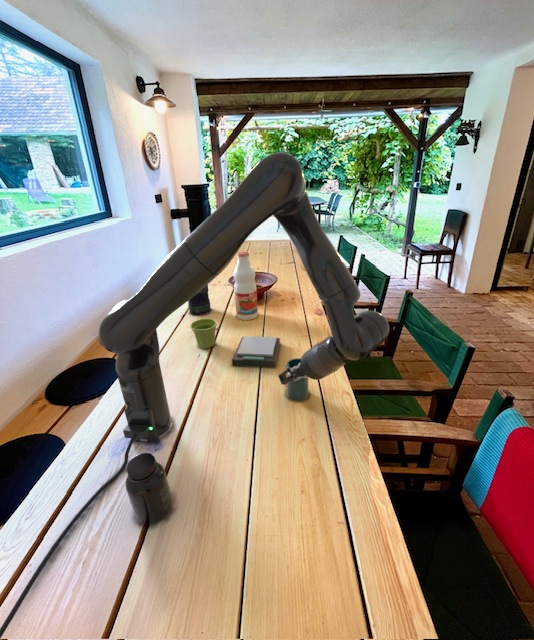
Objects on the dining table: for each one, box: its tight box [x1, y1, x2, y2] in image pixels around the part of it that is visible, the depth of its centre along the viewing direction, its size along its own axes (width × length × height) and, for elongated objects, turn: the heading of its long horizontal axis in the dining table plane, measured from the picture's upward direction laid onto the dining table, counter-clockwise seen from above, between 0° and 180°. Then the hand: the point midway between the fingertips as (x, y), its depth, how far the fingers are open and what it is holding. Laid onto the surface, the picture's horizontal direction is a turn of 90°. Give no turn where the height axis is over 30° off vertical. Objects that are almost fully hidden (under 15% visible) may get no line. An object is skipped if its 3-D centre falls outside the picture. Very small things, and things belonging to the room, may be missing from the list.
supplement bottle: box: [125, 452, 173, 526], centre depth 58 cm, size 7×7×12 cm
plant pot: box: [190, 318, 218, 350], centre depth 117 cm, size 9×9×9 cm
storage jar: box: [187, 284, 212, 317], centre depth 146 cm, size 10×10×15 cm
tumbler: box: [285, 357, 310, 402], centre depth 88 cm, size 6×6×10 cm
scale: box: [231, 336, 281, 369], centre depth 111 cm, size 16×14×3 cm
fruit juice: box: [232, 251, 259, 321], centre depth 136 cm, size 9×9×28 cm
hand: (296, 376), depth 89 cm, fingers open, 8 cm apart
